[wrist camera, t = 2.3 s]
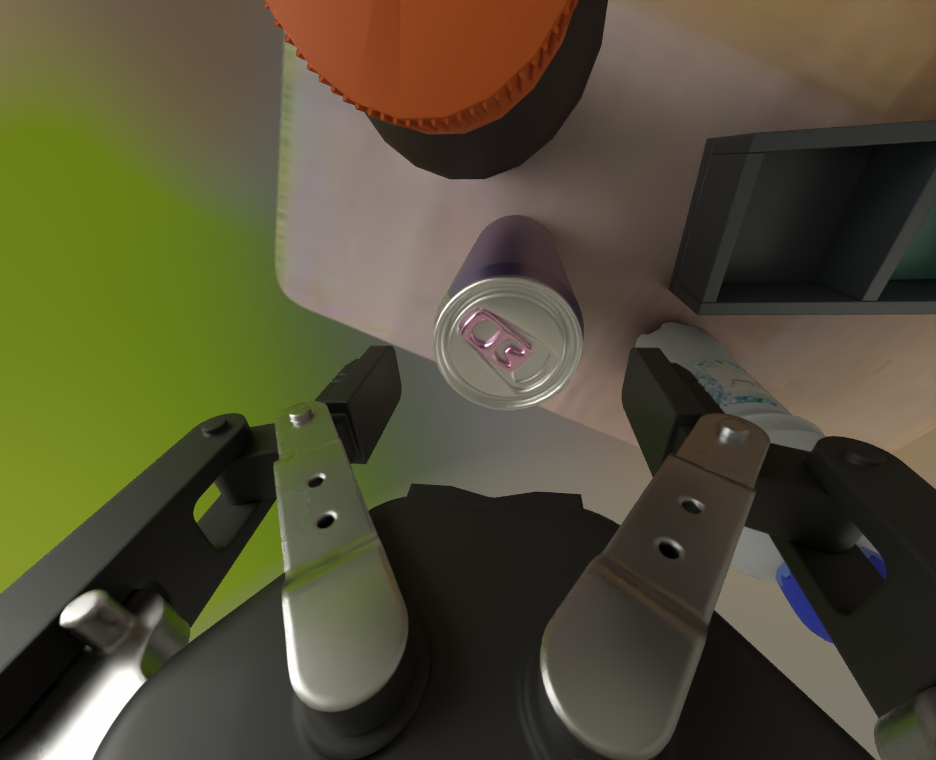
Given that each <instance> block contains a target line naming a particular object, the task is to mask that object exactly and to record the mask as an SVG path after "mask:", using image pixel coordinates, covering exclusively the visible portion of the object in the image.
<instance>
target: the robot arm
mask: <svg viewBox="0 0 936 760" xmlns="http://www.w3.org/2000/svg"><path fill="white" fill-rule="evenodd" d="M400 397H401V380H400V375H399V370H398V364H397V359H396V353H395V350H394V348H393V346H370V347H369V348H368V349H367V350H366V352H365V353H364V354H363V355H362V356H361V357H360V359H356V360H354V361H352V362H351V363H349V364H347V365H346V366H345V367H344V368H343V369H342V370H341V371H340V372H339V373H338V375H337V376H336V377H335V378H334V379H333V380H332V382H330V383H329V385H328V386H327V387H326V388H325V389H324V390H323V391H322V392H321V393H320V395H319V396H318V397H317V398H316V399H315V400H314V401H307V402H302V403H299V404H296V405H293V406H291V407H289V408H287V409H286V410H284V411H283V412H281V413H280V414H279V415H278V416H277V418H276V420H275V423H273V424H267V425H261V426H255V427H249V425H248V423H247V421H246V419H245V417H244V416H243V415H241V414H237V413H231V414H224V415H219V416H216V417H214V418H211V419H208V420H207V421H204V422H202V423H201V424H199V425H197V426H196V427H195V428H193V429H192V430H191V431H190V432H189V433H188V434H186V435H185V436H184V437H183V438H182V439H181V440H179V441H178V442H177V443H176V444H175V445H174V446H172V447H171V448H170V449H169V450H168V451H167V452H166V453H164V454H163V455H162V456H161V457H160V458H158V459H157V460H156V461H155V462H154V463H153V464H151V465H150V466H149V467H148V468H147V469H146V470H144V472H142V473H141V474H140V475H139V476H137V477H136V478H135V479H134V480H133V481H132V482H130V483H129V484H128V485H127V486H126V487H125V488H124V489H122V490H121V491H120V492H119V493H118V494H116V495H115V496H114V497H113V498H112V499H111V500H110V501H108V502H107V503H106V504H105V505H104V506H102V507H101V508H100V509H99V510H98V511H97V512H95V513H94V514H93V515H92V516H91V517H90V518H88V519H87V520H86V521H85V522H84V523H83V524H81V525H80V526H79V527H78V528H77V529H76V530H74V531H73V532H72V533H71V534H70V535H69V536H67V537H66V538H65V539H64V540H63V541H62V542H60V543H59V544H58V545H57V546H56V547H55V548H54V549H52V550H51V551H50V552H49V553H48V554H46V555H45V556H44V557H43V558H42V559H41V560H40V561H38V562H37V563H36V564H35V565H34V566H32V567H31V568H30V569H29V570H28V571H27V572H25V573H24V574H23V575H22V576H21V577H20V578H18V579H17V580H16V581H15V582H14V583H13V584H11V585H10V586H9V587H8V588H7V589H6V590H4V591H3V592H2V593H1V594H0V760H875V759H874V758H873V757H872V756H871V755H870V754H869V753H868V752H867V751H866V750H865V749H864V748H863V747H862V746H861V745H860V744H859V743H858V742H857V741H855V740H854V739H853V738H852V737H851V736H850V735H849V734H848V733H847V732H846V731H845V730H844V729H843V728H841V727H840V726H839V725H838V724H837V723H836V722H835V721H834V720H833V719H832V718H831V717H829V716H828V715H827V714H826V713H825V712H824V711H823V710H822V709H821V708H820V707H819V706H818V705H816V704H815V703H814V702H813V701H812V700H811V699H810V698H809V697H808V696H807V695H806V694H805V693H804V692H803V691H801V690H800V689H799V688H798V687H797V686H796V685H795V684H794V683H793V682H791V680H789V679H788V678H787V677H786V676H785V675H784V674H783V673H782V672H781V671H780V670H779V669H777V667H775V666H774V665H773V664H772V663H771V662H770V661H769V660H768V659H767V658H766V657H765V656H764V655H762V654H761V653H760V652H759V651H758V650H757V649H756V648H755V647H754V646H753V645H752V644H751V643H749V642H748V641H747V640H746V639H745V638H744V637H743V636H742V635H741V634H740V633H739V632H738V631H737V630H735V629H734V628H733V627H732V626H731V625H730V624H729V623H728V622H727V621H726V620H725V619H724V618H722V617H721V616H720V615H719V614H718V613H717V612H716V611H715V610H714V608H715V605H716V603H717V600H718V597H719V594H720V592H721V588H722V586H723V583H724V580H725V578H726V575H727V572H728V569H729V566H730V564H731V561H732V558H733V555H734V552H735V550H736V547H737V544H738V541H739V539H740V536H741V533H742V530H743V527H747V528H750V529H753V530H756V531H760V532H763V533H766V534H769V536H770V538H771V540H772V541H773V543H774V545H775V546H776V548H777V550H778V551H779V553H780V555H781V556H782V558H783V560H784V561H785V563H786V565H787V566H788V568H789V570H790V571H791V573H792V575H793V576H794V578H795V580H796V581H797V583H798V585H799V586H800V588H801V590H802V591H803V593H804V595H805V596H806V598H807V600H808V601H809V603H810V605H811V606H812V608H813V610H814V611H815V613H816V615H817V616H818V618H819V620H820V621H821V623H822V625H823V626H824V628H825V630H826V631H827V633H828V635H829V636H830V638H831V640H832V641H833V643H834V645H835V646H836V648H837V649H838V651H839V653H840V654H841V656H842V658H843V660H844V661H845V663H846V665H847V666H848V668H849V670H850V671H851V673H852V675H853V676H854V678H855V680H856V681H857V683H858V685H859V686H860V688H861V690H862V691H863V693H864V695H865V696H866V698H867V700H868V701H869V703H870V705H871V706H872V708H873V710H874V711H875V713H876V715H877V716H878V718H879V719H878V720H877V722H876V725H875V728H874V738H875V744H876V747H877V750H878V753H879V755H880V758H881V760H936V489H934V488H933V487H932V486H931V485H930V484H928V483H927V482H926V481H925V480H924V479H923V478H921V477H920V476H919V475H918V474H916V473H915V472H914V471H913V470H912V469H911V468H909V467H908V466H907V465H906V464H904V463H903V462H902V461H901V460H899V459H898V458H897V457H895V456H893V455H892V454H890V453H889V452H887V451H885V450H883V449H881V448H878V447H876V446H874V445H871V444H869V443H866V442H863V441H859V440H855V439H851V438H846V437H838V436H830V437H824V438H821V439H819V440H818V441H817V443H816V444H815V446H814V448H813V449H812V451H811V452H810V451H805V450H801V449H796V448H792V447H787V446H782V445H778V444H774V443H770V438H769V436H768V434H767V433H766V432H765V431H764V430H763V429H762V428H760V427H759V426H757V425H756V424H754V423H752V422H750V421H748V420H746V419H744V418H741V417H738V416H734V415H730V414H725V412H724V411H723V410H722V409H721V408H720V406H719V405H718V404H717V403H716V402H715V400H714V399H713V398H712V397H711V396H710V394H709V393H708V392H707V391H705V388H704V387H703V386H702V385H701V383H698V380H697V379H696V377H695V376H694V375H693V374H692V373H691V371H689V370H687V369H686V368H684V367H682V366H681V365H679V364H677V363H671V362H670V361H669V360H668V358H667V357H666V356H665V355H664V353H663V352H662V351H661V349H660V348H641V347H634V348H632V349H631V351H630V354H629V359H628V364H627V368H626V373H625V378H624V383H623V388H622V404H623V408H624V410H625V413H626V415H627V417H628V420H629V422H630V424H631V427H632V429H633V431H634V434H635V436H636V438H637V441H638V443H639V446H640V448H641V450H642V453H643V455H644V457H645V460H646V462H647V464H648V467H649V469H650V471H651V474H652V476H653V479H652V480H651V482H650V483H649V484H648V486H647V488H646V489H645V490H644V492H643V493H642V495H641V496H640V498H639V499H638V501H637V502H636V504H635V505H634V507H633V508H632V510H631V511H630V512H629V514H628V515H627V517H626V518H625V520H624V521H623V523H622V524H621V526H620V525H619V524H617V523H615V522H614V521H612V520H610V519H608V518H606V517H604V516H602V515H600V514H597V513H595V512H593V511H590V510H587V509H583V504H582V498H581V494H567V493H552V492H531V493H524V494H517V495H510V496H503V497H496V498H492V497H486V496H483V495H480V494H476V493H473V492H470V491H466V490H462V489H459V488H456V487H452V486H442V485H441V486H440V485H426V484H411V486H410V489H409V492H408V495H407V497H401V498H397V499H394V500H391V501H388V502H385V503H383V504H381V505H378V506H376V507H374V508H372V509H371V510H369V511H368V509H367V506H366V503H365V501H364V498H363V496H362V493H361V491H360V488H359V486H358V483H357V480H356V478H355V475H354V472H353V470H352V467H351V463H356V464H366V463H367V461H368V459H369V458H370V456H371V454H372V452H373V450H374V448H375V446H376V444H377V442H378V440H379V439H380V437H381V435H382V433H383V431H384V429H385V427H386V425H387V423H388V421H389V419H390V417H391V416H392V414H393V412H394V410H395V408H396V406H397V404H398V402H399V400H400ZM213 482H214V483H215V485H216V486H217V488H218V489H219V491H220V492H221V495H220V496H219V497H218V499H217V500H216V501H215V502H214V503H213V505H212V506H211V507H210V508H209V509H208V511H207V512H206V513H205V514H204V515H203V517H202V518H201V519H200V520H199V521H198V523H196V521H195V520H194V516H193V511H194V507H195V504H196V502H197V500H198V499H199V498H200V497H201V496H202V494H203V493H204V492H205V491H206V490H207V489H208V488H209V486H211V484H212V483H213ZM276 499H277V503H278V513H279V522H280V531H281V541H282V550H283V558H284V568H285V572H284V573H283V574H282V575H280V576H279V577H278V578H276V579H275V580H273V581H272V582H271V583H269V584H268V585H267V586H265V587H264V588H263V589H261V590H260V591H259V592H257V593H256V594H255V595H253V596H252V597H251V598H249V599H248V600H247V601H245V602H244V603H242V604H241V605H240V606H238V607H237V608H236V609H234V610H233V611H232V612H230V613H229V614H228V615H226V616H225V617H224V618H222V619H221V620H219V621H218V622H217V623H215V624H214V625H213V626H211V627H210V628H209V629H207V630H206V631H205V632H203V633H202V634H201V635H199V636H198V637H197V638H195V639H194V640H193V641H191V642H190V643H188V642H189V638H190V628H191V627H192V625H193V624H194V622H195V621H196V619H197V618H198V616H199V614H200V613H201V611H202V610H203V608H204V607H205V605H206V604H207V603H208V601H209V600H210V598H211V597H212V595H213V594H214V592H215V591H216V589H217V588H218V586H219V584H220V583H221V582H222V580H223V579H224V577H225V575H226V574H227V573H228V571H229V570H230V568H231V566H232V565H233V563H234V562H235V560H236V559H237V557H238V556H239V554H240V553H241V551H242V550H243V548H244V547H245V545H246V544H247V542H248V541H249V539H250V538H251V536H252V535H253V533H254V532H255V530H256V529H257V527H258V526H259V524H260V523H261V521H262V520H263V518H264V517H265V515H266V514H267V512H268V511H269V509H270V508H271V506H272V505H273V503H274V502H275V500H276ZM863 535H864V536H865V537H866V538H867V539H868V541H869V542H870V543H871V544H872V545H873V546H874V548H875V549H876V550H877V551H878V552H879V554H880V555H881V557H882V558H883V560H884V563H885V566H886V571H887V575H886V580H885V579H884V577H883V576H882V575H881V574H880V573H879V571H878V570H877V569H876V568H875V566H874V565H873V564H872V563H871V562H870V560H869V559H868V558H867V557H866V555H865V554H864V553H863V552H862V551H861V549H860V548H859V547H858V546H857V544H856V543H857V541H858V540H859V539H860V538H861V537H862V536H863Z"/></svg>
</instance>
